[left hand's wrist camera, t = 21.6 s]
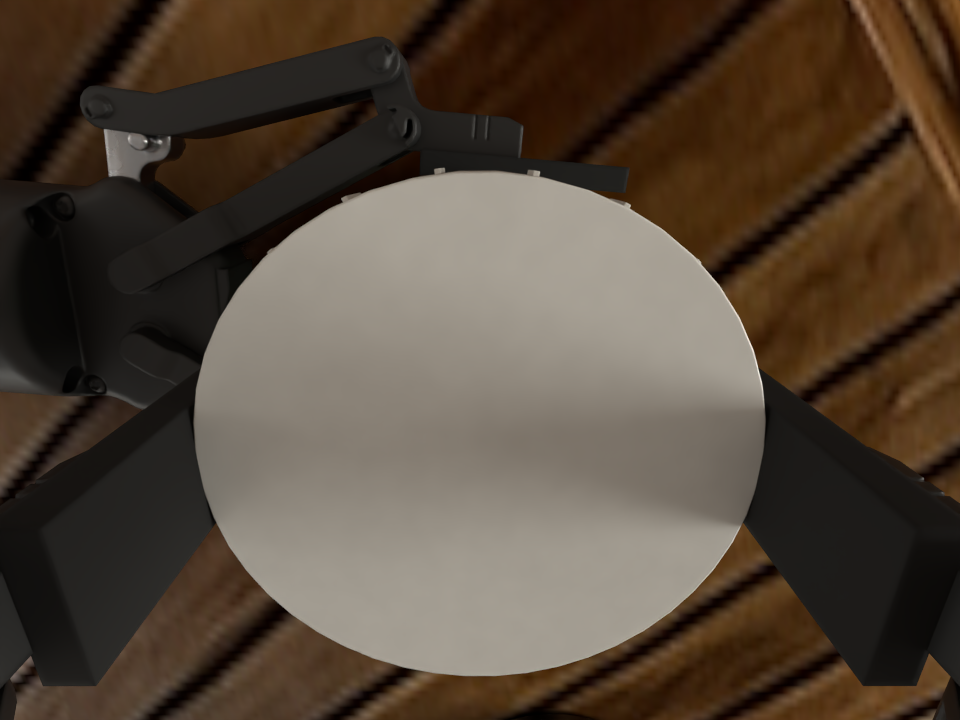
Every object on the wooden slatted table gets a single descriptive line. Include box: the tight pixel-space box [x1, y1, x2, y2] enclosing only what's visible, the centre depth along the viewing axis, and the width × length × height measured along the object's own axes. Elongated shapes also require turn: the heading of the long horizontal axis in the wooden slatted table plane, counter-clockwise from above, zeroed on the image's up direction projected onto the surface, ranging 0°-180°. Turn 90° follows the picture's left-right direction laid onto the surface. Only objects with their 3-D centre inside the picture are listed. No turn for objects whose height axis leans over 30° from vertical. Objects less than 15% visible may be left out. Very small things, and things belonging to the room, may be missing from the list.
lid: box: [193, 168, 766, 676], centre depth 11 cm, size 11×11×2 cm
